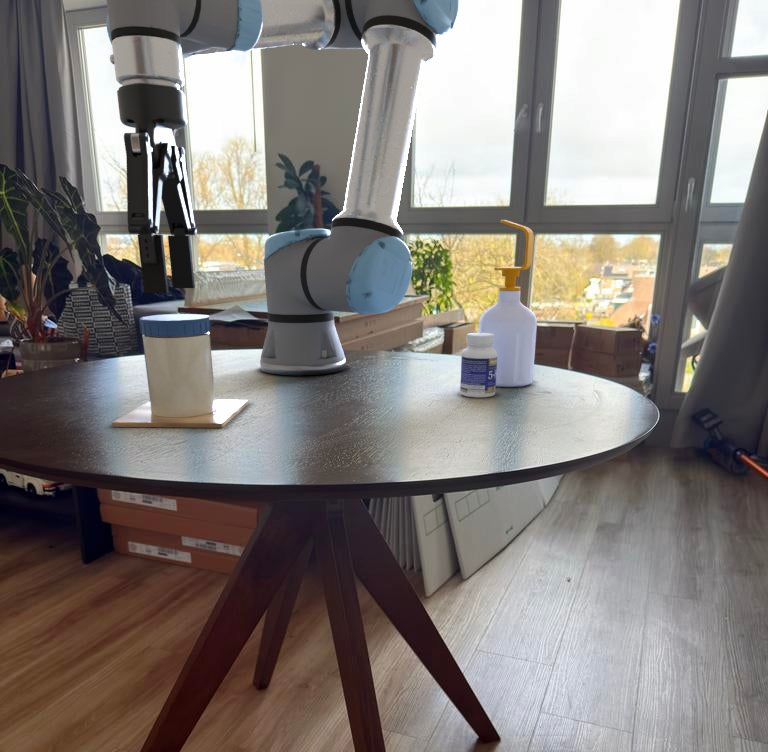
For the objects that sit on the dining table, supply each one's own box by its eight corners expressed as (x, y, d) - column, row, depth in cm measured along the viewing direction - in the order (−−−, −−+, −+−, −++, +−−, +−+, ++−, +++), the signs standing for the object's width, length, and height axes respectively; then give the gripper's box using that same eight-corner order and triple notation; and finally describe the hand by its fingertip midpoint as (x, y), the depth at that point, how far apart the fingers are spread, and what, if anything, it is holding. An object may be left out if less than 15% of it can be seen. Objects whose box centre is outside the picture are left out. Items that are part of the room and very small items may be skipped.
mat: (152, 403, 104) (151, 399, 103) (248, 404, 103) (248, 399, 103) (112, 426, 90) (111, 422, 90) (222, 428, 90) (221, 423, 89)
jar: (164, 403, 101) (154, 317, 96) (223, 404, 100) (216, 317, 96) (141, 417, 93) (130, 324, 89) (206, 418, 92) (197, 324, 88)
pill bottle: (494, 398, 105) (497, 336, 102) (458, 397, 106) (460, 336, 103) (496, 391, 110) (499, 332, 107) (462, 390, 111) (464, 331, 108)
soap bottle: (484, 376, 123) (491, 220, 114) (537, 379, 120) (549, 220, 111) (470, 385, 115) (476, 219, 106) (527, 389, 112) (538, 218, 103)
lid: (157, 328, 97) (155, 313, 97) (219, 328, 96) (218, 314, 96) (128, 336, 89) (126, 320, 88) (196, 336, 88) (195, 320, 88)
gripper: (153, 105, 94) (171, 285, 102) (74, 65, 73) (104, 296, 81) (210, 104, 93) (223, 285, 101) (147, 64, 72) (170, 296, 80)
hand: (170, 290), depth 91 cm, fingers open, 10 cm apart
